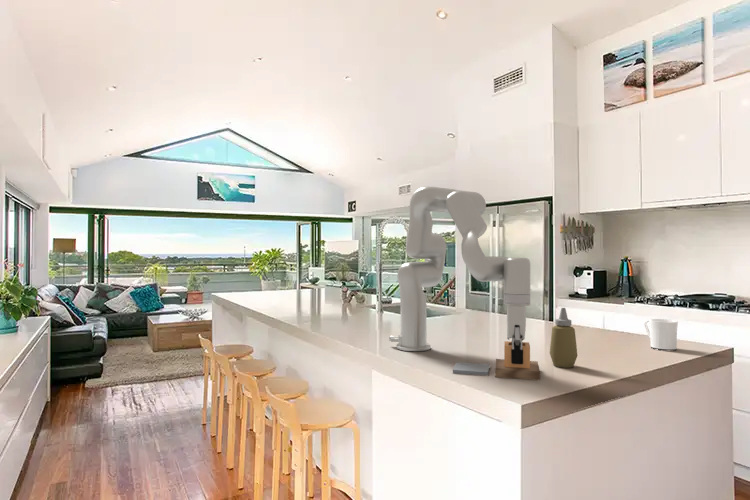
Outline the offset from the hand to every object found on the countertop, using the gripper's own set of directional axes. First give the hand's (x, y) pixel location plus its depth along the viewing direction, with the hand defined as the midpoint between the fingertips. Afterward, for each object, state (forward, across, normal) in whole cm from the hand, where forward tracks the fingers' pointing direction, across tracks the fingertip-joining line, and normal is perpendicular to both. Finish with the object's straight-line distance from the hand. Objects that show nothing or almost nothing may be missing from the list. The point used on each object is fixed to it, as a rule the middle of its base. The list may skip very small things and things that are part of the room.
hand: (517, 360), depth 140 cm
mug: (+4, -51, +51) cm, 72 cm away
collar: (+1, 0, 0) cm, 1 cm away
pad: (+4, 0, -13) cm, 14 cm away
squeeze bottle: (+4, -13, +14) cm, 20 cm away
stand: (+4, 0, 0) cm, 4 cm away
